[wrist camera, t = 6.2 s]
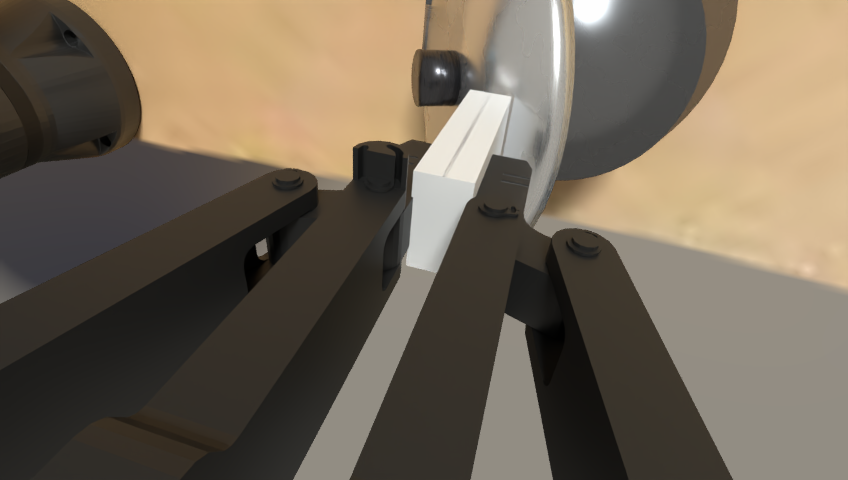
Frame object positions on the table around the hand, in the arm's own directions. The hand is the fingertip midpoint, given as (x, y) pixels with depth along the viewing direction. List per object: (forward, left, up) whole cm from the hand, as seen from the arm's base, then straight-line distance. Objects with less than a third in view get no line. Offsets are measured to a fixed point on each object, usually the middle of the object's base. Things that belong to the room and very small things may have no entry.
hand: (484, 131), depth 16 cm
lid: (-1, 0, -5) cm, 5 cm away
